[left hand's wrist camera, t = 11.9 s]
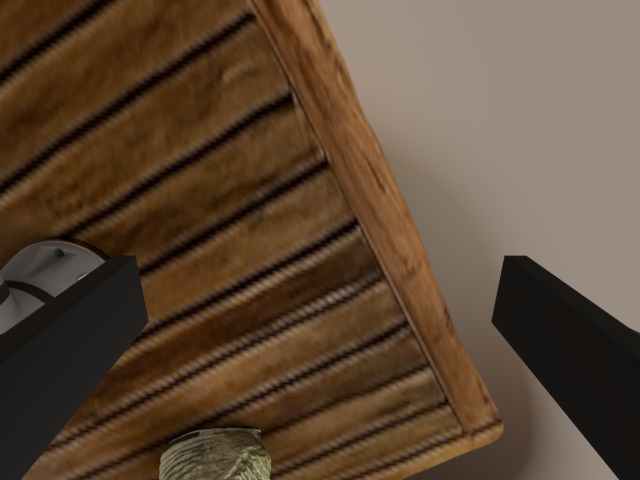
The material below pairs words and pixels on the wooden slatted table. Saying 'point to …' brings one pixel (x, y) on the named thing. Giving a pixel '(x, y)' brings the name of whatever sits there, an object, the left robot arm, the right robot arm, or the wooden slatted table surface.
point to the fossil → (216, 456)
